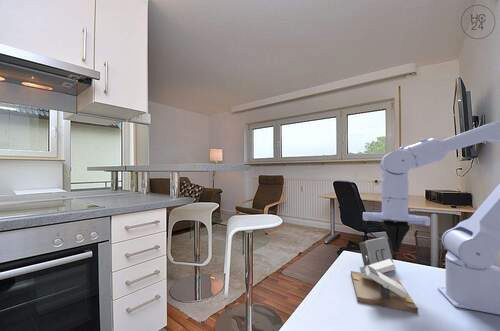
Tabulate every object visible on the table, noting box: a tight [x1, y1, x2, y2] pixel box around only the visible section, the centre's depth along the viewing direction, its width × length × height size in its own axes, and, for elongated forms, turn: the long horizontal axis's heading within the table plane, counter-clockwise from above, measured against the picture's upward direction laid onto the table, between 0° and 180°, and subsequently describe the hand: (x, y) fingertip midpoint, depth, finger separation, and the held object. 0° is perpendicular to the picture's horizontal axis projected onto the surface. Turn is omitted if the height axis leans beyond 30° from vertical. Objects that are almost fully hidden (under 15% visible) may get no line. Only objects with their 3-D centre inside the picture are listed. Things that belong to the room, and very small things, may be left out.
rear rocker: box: [359, 259, 397, 278], centre depth 56 cm, size 8×4×2 cm, turn 71°
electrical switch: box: [358, 237, 395, 266], centre depth 66 cm, size 9×5×9 cm, turn 116°
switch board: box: [350, 270, 419, 314], centre depth 53 cm, size 12×13×3 cm
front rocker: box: [365, 265, 408, 298], centre depth 50 cm, size 8×4×2 cm, turn 70°
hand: (394, 250), depth 56 cm, fingers closed
